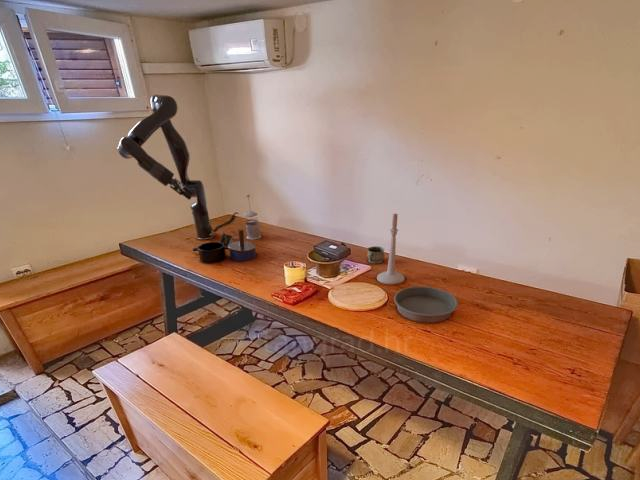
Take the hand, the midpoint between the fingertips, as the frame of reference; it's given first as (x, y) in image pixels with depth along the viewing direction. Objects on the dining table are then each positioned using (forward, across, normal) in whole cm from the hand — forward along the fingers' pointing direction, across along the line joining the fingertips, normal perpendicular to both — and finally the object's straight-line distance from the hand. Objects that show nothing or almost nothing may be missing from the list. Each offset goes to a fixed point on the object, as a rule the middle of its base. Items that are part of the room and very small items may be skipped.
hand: (191, 196), depth 188 cm
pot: (+25, -9, +18) cm, 32 cm away
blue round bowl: (+37, -11, +7) cm, 39 cm away
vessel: (+84, -39, -40) cm, 100 cm away
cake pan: (+84, -94, -40) cm, 132 cm away
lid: (+32, -11, +3) cm, 34 cm away
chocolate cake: (+31, +11, +13) cm, 35 cm away
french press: (+43, +21, +1) cm, 48 cm away
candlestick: (+83, -62, -39) cm, 111 cm away
